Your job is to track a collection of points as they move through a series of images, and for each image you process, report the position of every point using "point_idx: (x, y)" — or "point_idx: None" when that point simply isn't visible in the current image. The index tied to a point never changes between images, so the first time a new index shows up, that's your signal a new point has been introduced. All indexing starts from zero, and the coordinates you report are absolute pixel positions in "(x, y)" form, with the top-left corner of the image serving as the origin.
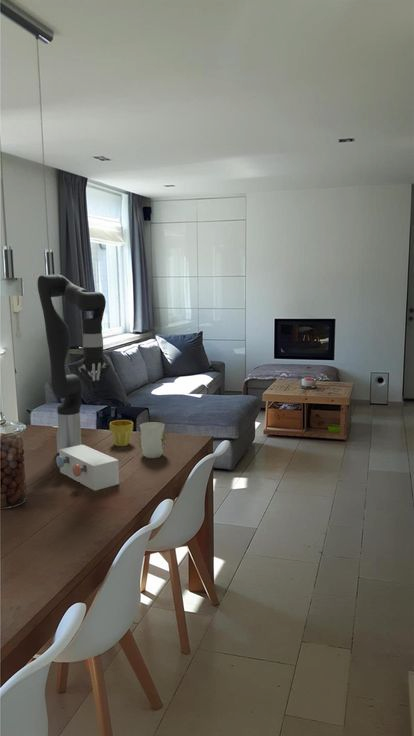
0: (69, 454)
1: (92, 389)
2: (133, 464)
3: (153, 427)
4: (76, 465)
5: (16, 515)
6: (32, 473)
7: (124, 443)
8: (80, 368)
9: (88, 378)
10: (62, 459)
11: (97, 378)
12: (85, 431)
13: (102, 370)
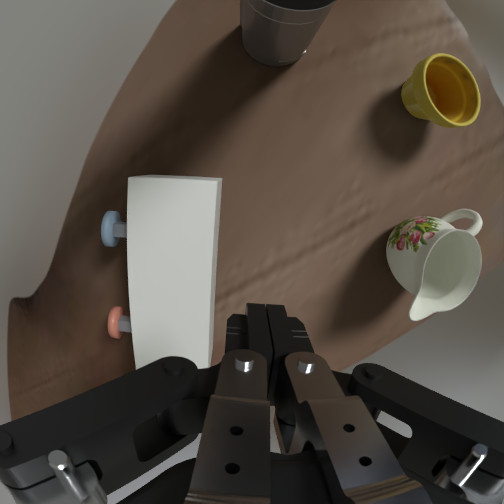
0: (127, 249)
1: (245, 315)
2: (328, 264)
3: (465, 241)
4: (109, 334)
5: (18, 325)
6: (98, 134)
7: (417, 116)
8: (16, 494)
9: (160, 427)
10: (109, 245)
11: (287, 426)
12: None
13: (412, 458)
